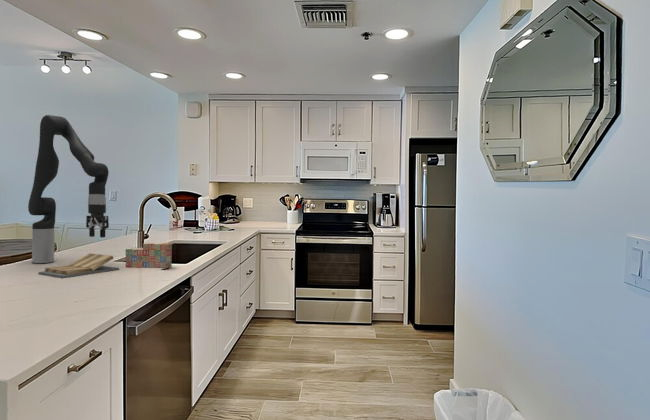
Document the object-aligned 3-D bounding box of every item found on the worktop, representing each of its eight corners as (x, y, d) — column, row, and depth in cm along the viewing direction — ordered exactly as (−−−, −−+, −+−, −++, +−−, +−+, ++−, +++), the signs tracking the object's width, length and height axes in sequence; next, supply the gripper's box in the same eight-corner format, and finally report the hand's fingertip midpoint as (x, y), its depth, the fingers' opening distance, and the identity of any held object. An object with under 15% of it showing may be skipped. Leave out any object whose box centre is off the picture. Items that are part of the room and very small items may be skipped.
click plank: (69, 267, 191) (68, 264, 191) (90, 255, 200) (89, 253, 200) (92, 270, 183) (91, 268, 182) (113, 258, 192) (112, 255, 191)
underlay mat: (38, 274, 180) (38, 272, 180) (95, 266, 203) (95, 264, 203) (62, 278, 171) (62, 275, 171) (119, 269, 194) (119, 267, 194)
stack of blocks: (125, 267, 201) (125, 243, 201) (132, 265, 208) (132, 241, 207) (166, 268, 199) (166, 243, 199) (172, 266, 206) (172, 242, 206)
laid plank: (45, 271, 182) (45, 268, 182) (67, 268, 190) (67, 265, 190) (68, 274, 173) (68, 271, 173) (90, 271, 182) (90, 268, 182)
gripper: (80, 203, 196) (80, 237, 196) (98, 203, 189) (98, 238, 189) (95, 203, 202) (96, 236, 202) (113, 203, 195) (113, 237, 195)
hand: (97, 237), depth 196 cm, fingers open, 8 cm apart
